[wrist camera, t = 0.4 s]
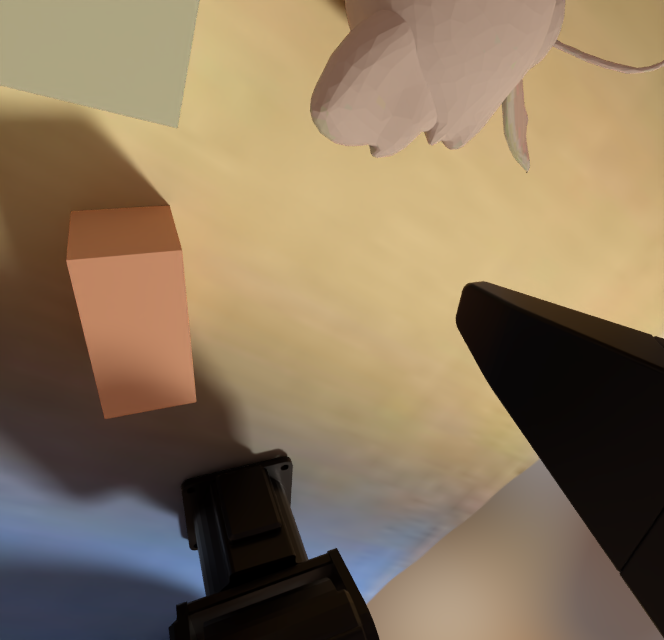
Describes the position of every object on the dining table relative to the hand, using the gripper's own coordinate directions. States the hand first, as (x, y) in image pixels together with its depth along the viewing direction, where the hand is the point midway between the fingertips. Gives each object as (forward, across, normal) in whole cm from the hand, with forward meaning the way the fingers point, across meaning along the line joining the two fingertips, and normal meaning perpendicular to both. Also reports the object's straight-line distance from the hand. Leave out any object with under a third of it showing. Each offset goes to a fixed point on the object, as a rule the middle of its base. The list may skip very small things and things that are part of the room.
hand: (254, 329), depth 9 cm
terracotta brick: (+13, +2, +6) cm, 14 cm away
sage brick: (+12, +3, -4) cm, 13 cm away
